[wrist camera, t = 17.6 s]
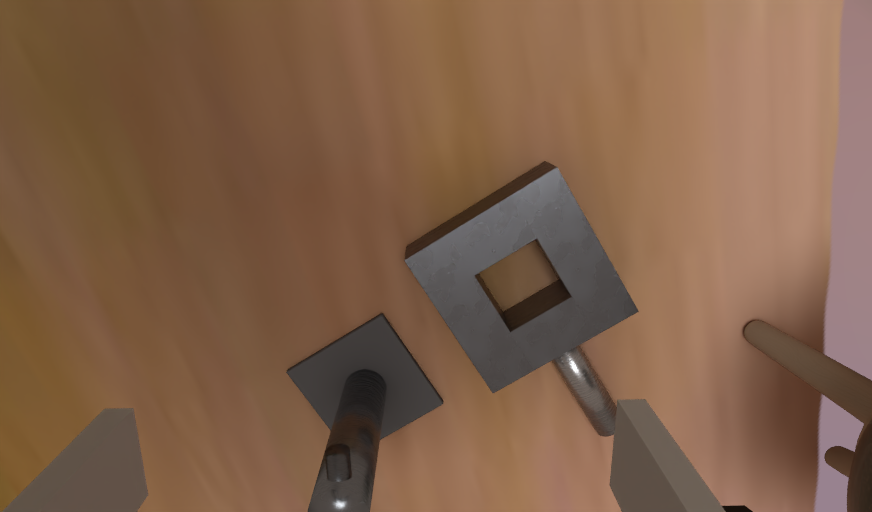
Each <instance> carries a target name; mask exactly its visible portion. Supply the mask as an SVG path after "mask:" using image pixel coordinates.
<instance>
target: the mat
mask: <svg viewBox="0 0 872 512" xmlns="http://www.w3.org/2000/svg"><path fill="white" fill-rule="evenodd" d="M362 369H368V370H373V371H375V372H377V373H378V374H380V375H381V376H382V377H383V379H384V380H385V382H386V386H387V392H386V400H385V407H384V414H383V421H382V428H381V435H380V439H382V438H384V437H386V436H388V435H389V434H391V433H393V432H395V431H396V430H398V429H400V428H402V427H403V426H405V425H407V424H409V423H410V422H412V421H414V420H416V419H417V418H419V417H421V416H423V415H425V414H426V413H428V412H430V411H432V410H433V409H435V408H437V407H439V406H440V405H442V404H443V400H442V398H441V397H440V395H439V394H438V393H437V391H436V390H435V388H434V387H433V385H432V384H431V383H430V381H429V380H428V378H427V377H426V375H425V374H424V372H423V371H422V370H421V368H420V367H419V365H418V364H417V362H416V361H415V359H414V358H413V357H412V355H411V354H410V352H409V351H408V349H407V348H406V347H405V345H404V344H403V342H402V341H401V339H400V338H399V336H398V335H397V334H396V332H395V331H394V329H393V328H392V326H391V325H390V323H389V322H388V321H387V319H386V318H385V316H384V315H383V313H381V314H380V315H378V316H376V317H375V318H373V319H371V320H370V321H368V322H366V323H365V324H363V325H361V326H360V327H358V328H356V329H355V330H353V331H351V332H350V333H348V334H346V335H345V336H343V337H341V338H340V339H338V340H336V341H335V342H333V343H331V344H330V345H328V346H326V347H325V348H323V349H321V350H320V351H318V352H316V353H315V354H313V355H311V356H310V357H308V358H306V359H305V360H303V361H301V362H300V363H298V364H296V365H295V366H293V367H291V368H290V369H288V370H287V372H286V373H287V374H288V375H289V376H290V378H291V379H292V380H293V382H294V383H295V384H296V386H297V387H298V388H299V390H300V391H301V392H302V393H303V395H304V396H305V397H306V399H307V400H308V401H309V403H310V404H311V405H312V407H313V408H314V409H315V410H316V412H317V413H318V414H319V416H320V417H321V418H322V420H323V421H324V422H325V424H326V425H327V426H328V427H329V429H330V430H331V429H332V426H333V422H334V419H335V415H336V412H337V408H338V405H339V402H340V398H341V395H342V391H343V388H344V384H345V381H346V379H347V378H348V377H349V375H351V374H352V373H353V372H355V371H358V370H362Z"/></svg>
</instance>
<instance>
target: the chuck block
mask: <svg viewBox="0 0 872 512" xmlns="http://www.w3.org/2000/svg"><path fill="white" fill-rule="evenodd" d="M533 240H536V242H537V243H538V245H539V247H540V248H541V250H542V252H543V253H544V255H545V257H546V258H547V260H548V262H549V263H550V265H551V267H552V268H553V270H554V272H555V273H556V275H557V277H558V278H559V280H558V281H556V282H555V283H553V284H551V285H549V286H548V287H546V288H544V289H542V290H541V291H539V292H537V293H536V294H534V295H532V296H530V297H529V298H527V299H525V300H524V301H522V302H520V303H518V304H517V305H515V306H513V307H512V308H510V309H508V310H506V311H505V312H503V311H502V310H501V308H500V307H499V305H498V303H497V302H496V300H495V299H494V297H493V295H492V294H491V292H490V291H489V289H488V288H487V286H486V284H485V283H484V281H483V280H482V278H481V277H480V275H479V272H481V271H483V270H485V269H486V268H488V267H490V266H491V265H493V264H495V263H496V262H498V261H500V260H501V259H503V258H505V257H506V256H508V255H510V254H511V253H513V252H515V251H516V250H518V249H520V248H521V247H523V246H525V245H526V244H528V243H530V242H532V241H533ZM404 261H405V262H406V264H407V265H408V267H409V268H410V270H411V271H412V273H413V274H414V276H415V277H416V279H417V280H418V282H419V283H420V285H421V286H422V288H423V289H424V291H425V292H426V294H427V295H428V297H429V298H430V300H431V301H432V303H433V304H434V306H435V307H436V309H437V310H438V312H439V313H440V315H441V316H442V318H443V319H444V321H445V322H446V324H447V325H448V327H449V328H450V330H451V331H452V333H453V334H454V336H455V337H456V339H457V340H458V342H459V343H460V345H461V346H462V348H463V349H464V351H465V352H466V354H467V355H468V357H469V358H470V360H471V361H472V363H473V364H474V366H475V367H476V369H477V370H478V372H479V373H480V375H481V376H482V378H483V379H484V381H485V382H486V384H487V385H488V387H489V388H490V390H491V391H492V393H495V392H496V391H498V390H500V389H502V388H504V387H505V386H507V385H509V384H511V383H512V382H514V381H516V380H518V379H520V378H521V377H523V376H525V375H527V374H528V373H530V372H532V371H534V370H536V369H537V368H539V367H541V366H543V365H544V364H546V363H548V362H550V361H553V363H554V365H555V366H556V368H557V369H558V371H559V373H560V374H561V376H562V377H563V379H564V381H565V382H566V384H567V385H568V387H569V389H570V390H571V392H572V393H573V395H574V397H575V398H576V400H577V401H578V403H579V405H580V406H581V408H582V409H583V411H584V413H585V414H586V416H587V417H588V419H589V421H590V422H591V424H592V426H593V427H594V429H595V430H596V432H597V433H598V435H600V436H611V435H613V434H614V432H615V421H616V410H617V407H616V405H615V404H614V402H613V400H612V399H611V397H610V395H609V394H608V392H607V391H606V389H605V387H604V386H603V384H602V382H601V381H600V379H599V377H598V376H597V374H596V372H595V371H594V369H593V367H592V366H591V364H590V362H589V361H588V359H587V357H586V356H585V354H584V353H583V351H582V349H581V348H580V346H579V345H580V344H582V343H583V342H585V341H587V340H589V339H591V338H592V337H594V336H596V335H598V334H599V333H601V332H603V331H605V330H607V329H608V328H610V327H612V326H614V325H615V324H617V323H619V322H621V321H623V320H624V319H626V318H628V317H630V316H631V315H633V314H635V313H637V312H639V311H638V309H637V308H636V306H635V304H634V302H633V301H632V299H631V297H630V295H629V293H628V292H627V290H626V288H625V286H624V285H623V283H622V281H621V279H620V278H619V276H618V274H617V272H616V270H615V269H614V267H613V265H612V263H611V262H610V260H609V258H608V256H607V255H606V253H605V251H604V249H603V247H602V246H601V244H600V242H599V240H598V239H597V237H596V235H595V233H594V232H593V230H592V228H591V226H590V224H589V223H588V221H587V219H586V217H585V216H584V214H583V212H582V210H581V209H580V207H579V205H578V203H577V201H576V200H575V198H574V196H573V194H572V193H571V191H570V189H569V187H568V186H567V184H566V182H565V180H564V179H563V177H562V175H561V173H560V171H559V170H558V168H557V167H556V166H554V165H552V164H550V163H548V162H546V161H544V162H543V163H541V164H540V165H538V166H536V167H535V168H533V169H531V170H530V171H528V172H526V173H525V174H523V175H522V176H520V177H518V178H517V179H515V180H513V181H512V182H510V183H509V184H507V185H505V186H504V187H502V188H500V189H499V190H497V191H496V192H494V193H492V194H491V195H489V196H487V197H486V198H484V199H483V200H481V201H479V202H478V203H476V204H474V205H473V206H471V207H469V208H468V209H466V210H465V211H463V212H461V213H460V214H458V215H456V216H455V217H453V218H452V219H450V220H448V221H447V222H445V223H443V224H442V225H440V226H439V227H437V228H435V229H434V230H432V231H430V232H429V233H427V234H426V235H424V236H422V237H421V238H419V239H417V240H416V241H414V242H412V243H411V244H409V245H408V246H406V253H405V260H404Z"/></svg>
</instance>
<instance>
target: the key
mask: <svg viewBox="0 0 872 512" xmlns="http://www.w3.org/2000/svg"><path fill="white" fill-rule="evenodd" d="M386 392H387V386H386V382H385V380H384V379H383V377H382V376H381V375H380V374H378V373H377V372H375V371H373V370H368V369H362V370H358V371H355V372H353V373H352V374H351V375H349V377H348V378H347V379H346V381H345V384H344V388H343V391H342V395H341V398H340V402H339V405H338V408H337V412H336V415H335V419H334V422H333V426H332V429H331V432H330V436H329V439H328V443H327V446H326V450H325V453H324V456H323V460H322V463H321V467H320V470H319V474H318V477H317V480H316V484H315V487H314V491H313V494H312V498H311V501H310V504H309V508H308V512H370V506H371V499H372V492H373V485H374V478H375V471H376V464H377V457H378V449H379V442H380V435H381V428H382V421H383V414H384V407H385V400H386Z"/></svg>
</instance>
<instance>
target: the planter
mask: <svg viewBox="0 0 872 512" xmlns="http://www.w3.org/2000/svg"><path fill="white" fill-rule="evenodd" d="M744 336H745V338H746V340H747V341H749V342H750V343H751V344H753V345H754V346H755V347H757V348H758V349H759V350H761V351H762V352H763V353H765V354H766V355H768V356H769V357H771V358H772V359H773V360H775V361H776V362H778V363H779V364H781V365H782V366H783V367H785V368H786V369H788V370H789V371H791V372H792V373H793V374H795V375H796V376H798V377H799V378H801V379H802V380H803V381H805V382H806V383H808V384H809V385H810V386H812V387H813V388H815V389H816V390H818V391H819V392H820V393H822V394H823V395H825V396H826V397H828V398H829V399H830V400H832V401H833V402H834V403H836V404H837V405H839V406H840V407H842V408H843V409H844V410H846V411H847V412H849V413H850V414H852V415H853V416H854V417H856V418H857V419H859V420H860V421H861V422H863V423H864V426H863V429H862V431H861V433H860V435H859V438H858V441H857V445H856V449H855V452H853V451H851V450H848V449H846V448H844V447H841V446H835V447H831V448H830V449H828V450H827V451H826V453H825V461H826V463H827V464H828V465H830V466H831V467H833V468H834V469H836V470H837V471H839V472H840V473H842V474H844V475H846V476H847V477H849V481H848V489H847V512H872V381H871V380H870V379H868V378H866V377H864V376H862V375H860V374H858V373H857V372H855V371H853V370H851V369H850V368H848V367H846V366H844V365H842V364H841V363H839V362H837V361H835V360H833V359H831V358H830V357H828V356H826V355H824V354H822V353H820V352H819V351H817V350H815V349H813V348H811V347H810V346H808V345H806V344H804V343H802V342H800V341H799V340H797V339H795V338H793V337H791V336H789V335H788V334H786V333H784V332H782V331H780V330H778V329H776V328H775V327H773V326H771V325H769V324H767V323H765V322H763V321H758V320H757V321H752V322H750V323H749V324H748V325H747V326H746V328H745V330H744Z"/></svg>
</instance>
